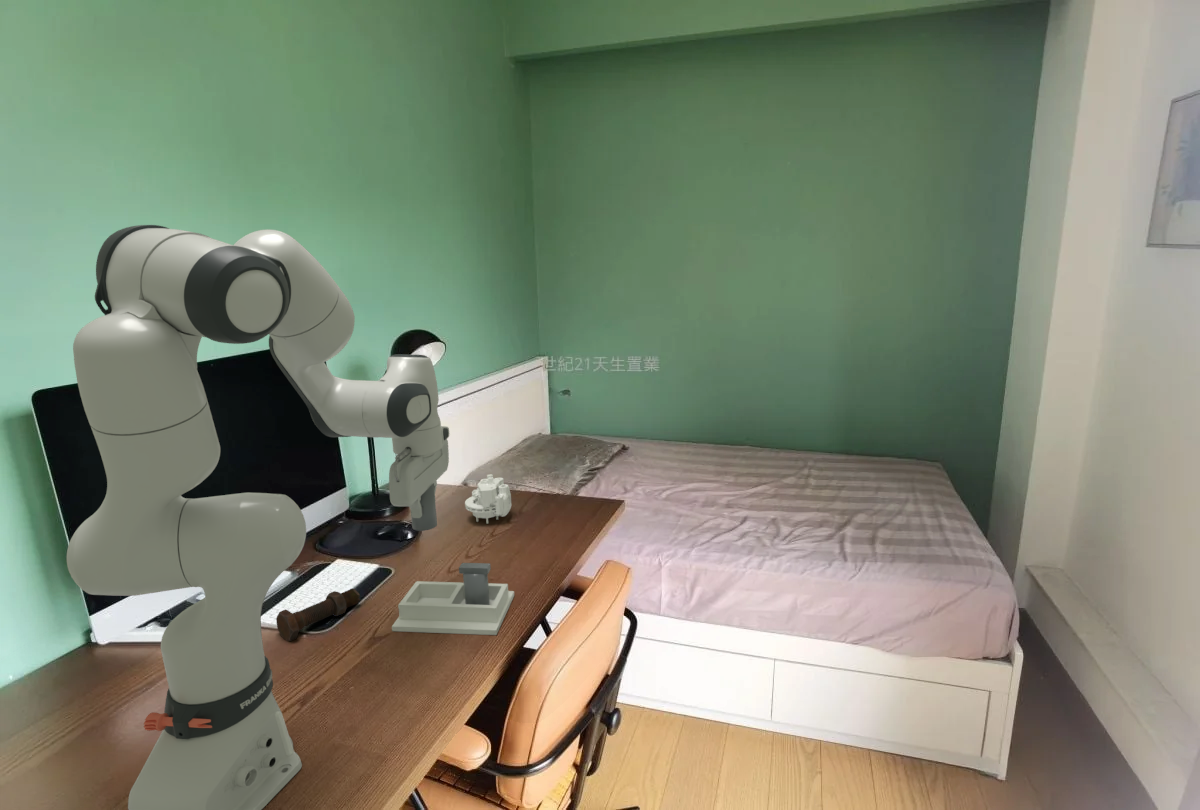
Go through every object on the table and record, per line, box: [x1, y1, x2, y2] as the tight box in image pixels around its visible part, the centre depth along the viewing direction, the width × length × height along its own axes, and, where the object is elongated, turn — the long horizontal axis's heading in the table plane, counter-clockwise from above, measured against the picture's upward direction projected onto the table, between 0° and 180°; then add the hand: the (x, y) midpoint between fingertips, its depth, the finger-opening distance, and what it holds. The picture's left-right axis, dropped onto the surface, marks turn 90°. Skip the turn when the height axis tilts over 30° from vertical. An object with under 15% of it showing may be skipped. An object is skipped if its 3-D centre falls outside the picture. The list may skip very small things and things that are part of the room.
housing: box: [391, 562, 515, 636], centre depth 123 cm, size 14×20×10 cm
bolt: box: [275, 588, 361, 642], centre depth 123 cm, size 6×5×15 cm
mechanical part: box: [464, 474, 512, 524], centre depth 167 cm, size 11×12×12 cm
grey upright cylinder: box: [410, 484, 438, 532], centre depth 120 cm, size 5×5×8 cm
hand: (424, 510), depth 120 cm, fingers closed on grey upright cylinder, 5 cm apart
